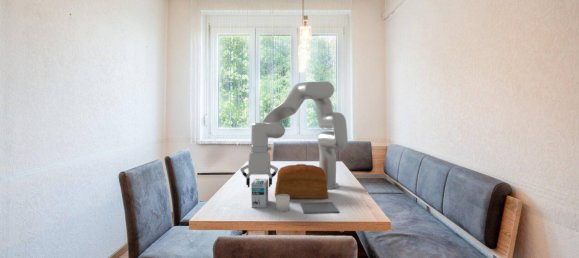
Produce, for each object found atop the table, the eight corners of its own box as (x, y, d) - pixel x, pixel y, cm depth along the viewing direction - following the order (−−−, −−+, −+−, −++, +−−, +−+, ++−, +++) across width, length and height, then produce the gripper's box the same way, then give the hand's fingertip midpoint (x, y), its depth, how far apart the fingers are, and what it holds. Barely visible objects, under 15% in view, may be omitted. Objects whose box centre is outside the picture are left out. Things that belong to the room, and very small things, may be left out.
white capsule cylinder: (275, 207, 122) (275, 194, 122) (289, 206, 123) (289, 193, 122) (276, 212, 116) (276, 198, 116) (290, 211, 117) (290, 198, 116)
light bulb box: (266, 208, 121) (266, 184, 120) (251, 208, 121) (250, 184, 120) (268, 200, 132) (268, 178, 131) (254, 200, 132) (254, 178, 131)
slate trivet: (300, 204, 126) (300, 202, 126) (332, 203, 127) (332, 201, 127) (303, 213, 114) (303, 212, 114) (338, 212, 115) (338, 211, 115)
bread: (329, 200, 132) (329, 168, 131) (274, 200, 132) (274, 168, 131) (325, 190, 148) (325, 162, 147) (276, 190, 148) (276, 161, 147)
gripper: (278, 148, 129) (277, 184, 130) (241, 148, 128) (241, 184, 129) (278, 150, 122) (278, 188, 123) (239, 150, 120) (239, 188, 121)
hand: (259, 186), depth 126 cm, fingers open, 9 cm apart
